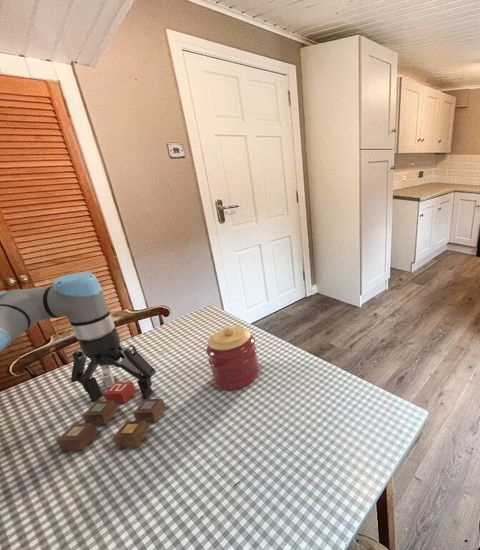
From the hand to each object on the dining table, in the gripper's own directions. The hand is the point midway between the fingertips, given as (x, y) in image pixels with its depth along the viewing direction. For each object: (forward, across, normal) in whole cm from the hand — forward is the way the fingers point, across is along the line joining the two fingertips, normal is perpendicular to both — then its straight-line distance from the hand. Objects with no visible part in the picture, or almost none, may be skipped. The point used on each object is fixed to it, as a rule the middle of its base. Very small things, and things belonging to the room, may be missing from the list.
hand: (123, 398), depth 84 cm
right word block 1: (0, -12, +14) cm, 18 cm away
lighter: (0, +8, -7) cm, 11 cm away
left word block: (0, 0, +7) cm, 7 cm away
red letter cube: (0, 0, 0) cm, 0 cm away
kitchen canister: (+1, -29, -7) cm, 30 cm away
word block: (0, 0, +14) cm, 14 cm away
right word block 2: (0, -12, +7) cm, 14 cm away
